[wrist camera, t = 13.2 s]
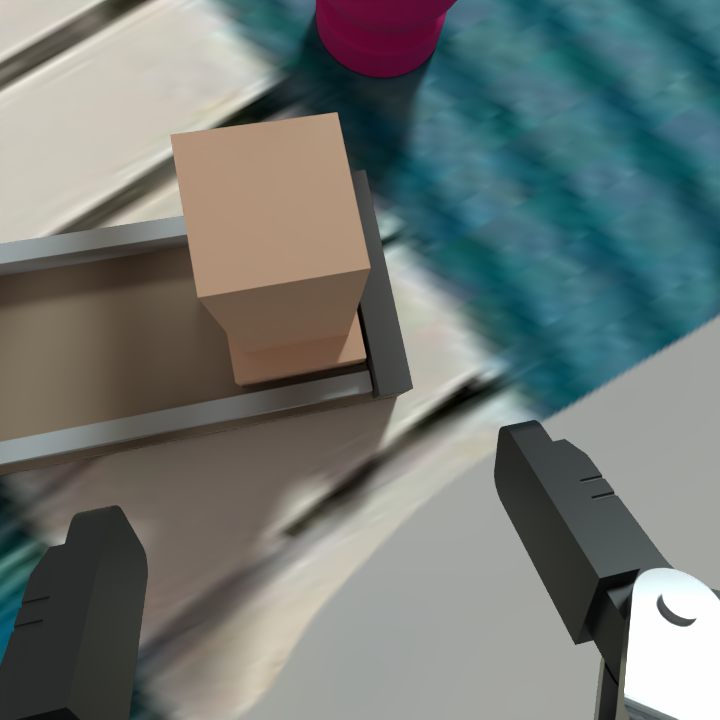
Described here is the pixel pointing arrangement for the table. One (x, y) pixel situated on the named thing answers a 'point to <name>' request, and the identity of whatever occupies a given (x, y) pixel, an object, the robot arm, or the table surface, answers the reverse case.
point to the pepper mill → (381, 33)
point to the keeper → (276, 244)
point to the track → (152, 347)
